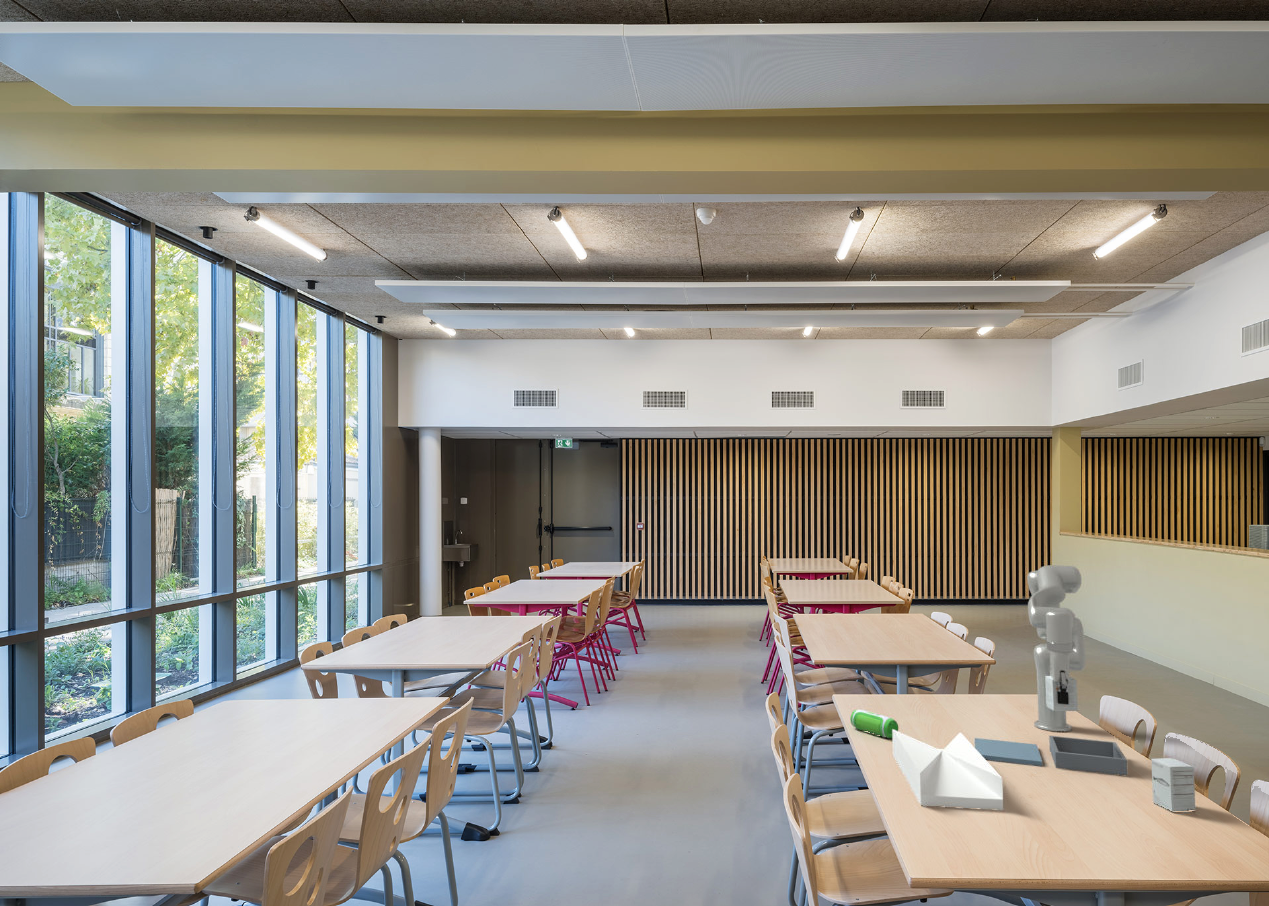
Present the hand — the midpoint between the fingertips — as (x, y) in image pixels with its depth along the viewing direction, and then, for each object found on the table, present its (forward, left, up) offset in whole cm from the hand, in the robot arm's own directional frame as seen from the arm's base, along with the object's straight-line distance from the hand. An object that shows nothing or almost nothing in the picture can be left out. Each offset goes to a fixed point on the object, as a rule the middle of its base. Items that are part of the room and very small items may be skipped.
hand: (1061, 700), depth 262 cm
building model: (+37, -37, -20) cm, 56 cm away
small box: (0, 0, -3) cm, 3 cm away
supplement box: (+35, +24, -20) cm, 47 cm away
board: (0, -17, -20) cm, 26 cm away
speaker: (-7, -62, -20) cm, 65 cm away
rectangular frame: (0, +7, -20) cm, 21 cm away
